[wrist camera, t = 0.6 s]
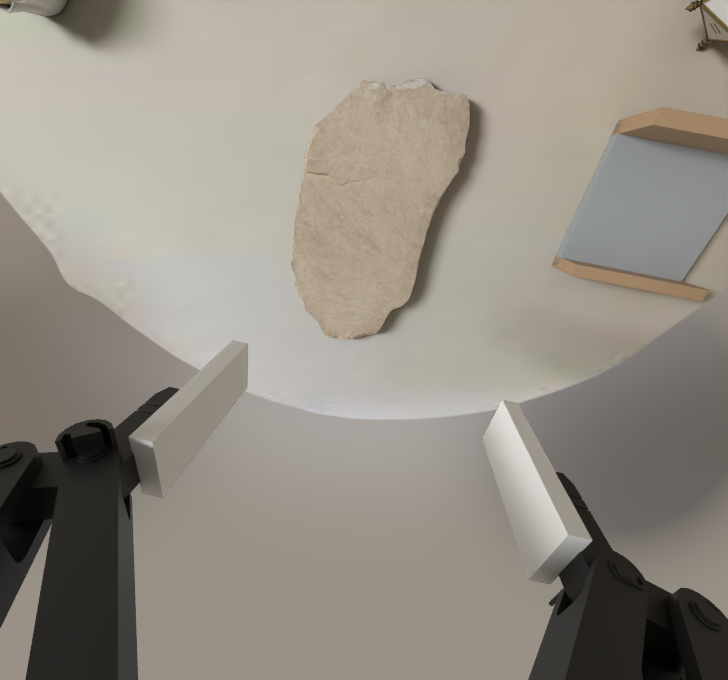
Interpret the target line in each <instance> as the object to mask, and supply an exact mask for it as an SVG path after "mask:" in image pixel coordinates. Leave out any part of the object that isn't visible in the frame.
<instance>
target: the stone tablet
mask: <svg viewBox="0 0 728 680" xmlns="http://www.w3.org/2000/svg"><path fill="white" fill-rule="evenodd" d="M469 107H470V103H469V101H468V99H467V97H466V95H463V94H462V95H456V94H453V93H451V92H446V91H440V90H438V89H436V90H435V88H434V86H433V85H432V84H431V82H430V81H428V80H427V79H426V78H420V79H417V80H407V81H406V82H405V83H404V84H403V85H402V86H401V85H397V86H393V87H390V86H389V85H388V84H385V83H382V82H375V81H372V82H368V81H366V80H364V81H363V82H361V83H360V84H359V85H358V86H357V87H356V88H355V89H354V90H353V91H352V92H351V93H350V94H349V95H348V96H347V97H346V98H345V99H344V100H343V101H342V102H341V103H340V104H338V105H337V106H336V107H335V108H334V109H333V110H332V111H331V112H330V113H329V114H328V115H327V116H326V117H325V118H324V119H323V120H321V121H320V122H319V123H318V124H316V126H315V128H314V129H313V132H312V134H311V137H310V141H309V146H308V148H307V152H306V155H305V157H304V162H305V169H304V178H303V182H302V188H301V192H300V195H299V202H298V207H297V212H296V218H295V231H294V244H293V260H292V262H291V267H292V269H293V272H294V274H295V285H296V287H297V291H298V295H299V297H300V298H301V299H302V301H303V303H304V304H305V309H306V311H307V312H309V313H310V314H311V315H312V316H313V317H314V318H315V319H316V320H317V321H318V322H319V324H320V326H321V328H322V331H323V333H324V334H325V335H326V336H328V337H331V338H335V339H343V340H347V339H355V338H357V337H363V336H366V335H373V334H376V333H377V332H378V331H379V330H380V329H381V327H382V325H383V324H384V322H385V320H386V318H387V316H388V315H389V313H390V312H391V310H393V309H396V308H398V307H401V306H403V305H404V304H405V303H406V302H408V301H409V299H410V296H411V292H412V289H413V286H414V284H415V280H416V275H417V271H418V268H419V260H420V257H421V252H422V249H423V245H424V242H425V237H426V234H427V232H428V229H429V226H430V224H431V221H432V218H433V214H434V212H435V210H436V208H437V206H438V205H439V203H440V201H441V198H442V196H443V195H444V193H445V191H446V189H447V188H448V186H449V185H450V183H451V182H452V181H453V179H454V177H455V176H456V175H457V174H458V172H459V171H460V164H461V161H462V159H463V157H464V154H465V147H466V145H465V141H466V137H467V134H468V131H469V127H470V111H469Z"/></svg>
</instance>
